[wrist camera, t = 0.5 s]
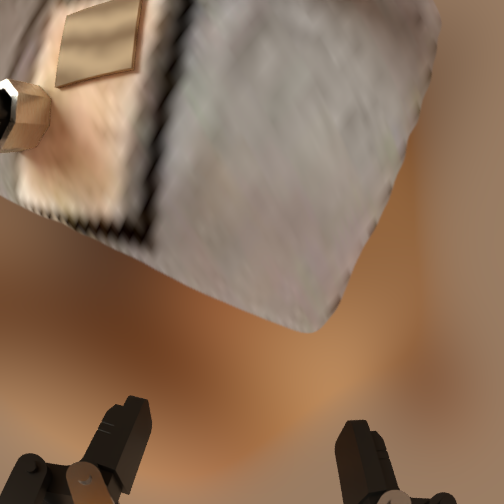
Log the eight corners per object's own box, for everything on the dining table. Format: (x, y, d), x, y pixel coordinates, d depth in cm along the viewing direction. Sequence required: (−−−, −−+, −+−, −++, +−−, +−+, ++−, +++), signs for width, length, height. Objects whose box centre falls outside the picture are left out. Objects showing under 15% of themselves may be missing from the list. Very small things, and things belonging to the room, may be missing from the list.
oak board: (69, 17, 28) (66, 15, 27) (143, -5, 27) (141, -8, 27) (58, 88, 31) (54, 87, 30) (133, 69, 31) (131, 67, 30)
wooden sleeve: (11, 97, 31) (-21, 93, 23) (52, 80, 31) (20, 71, 23) (8, 154, 34) (-25, 158, 26) (49, 144, 34) (14, 144, 26)
